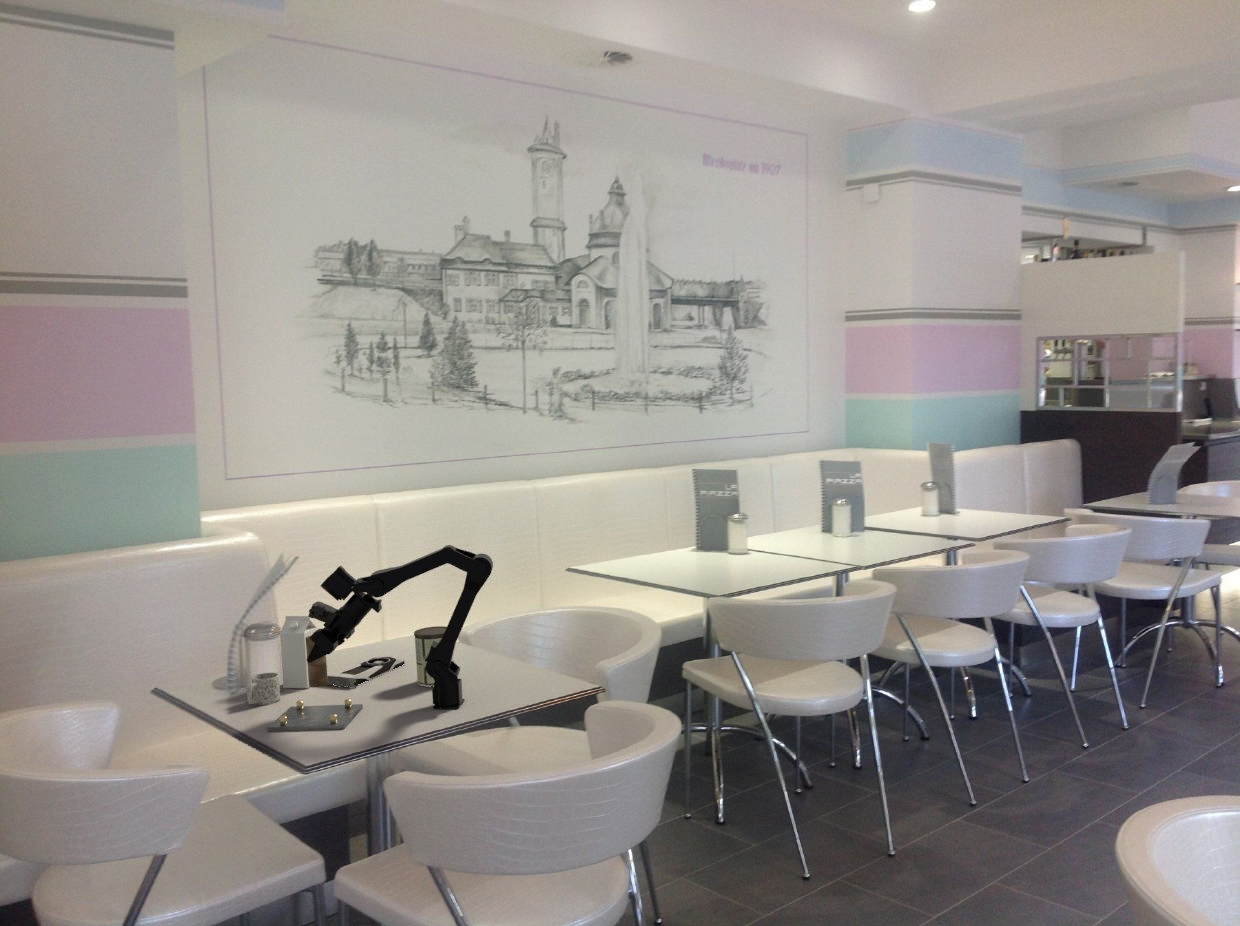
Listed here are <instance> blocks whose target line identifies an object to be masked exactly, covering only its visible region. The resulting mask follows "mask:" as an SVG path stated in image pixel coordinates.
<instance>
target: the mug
mask: <svg viewBox="0 0 1240 926" xmlns="http://www.w3.org/2000/svg"><path fill="white" fill-rule="evenodd" d="M246 699H247V703H248V704H249V705H256V706H268V705H273V704H277V703H279V702H280V701H281V689H280V676H279V673H277V672H263V673H258V674H255V675H253V676H251V684H250V685H248V687H246Z"/></svg>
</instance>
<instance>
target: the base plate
mask: <svg viewBox="0 0 1240 926" xmlns="http://www.w3.org/2000/svg"><path fill="white" fill-rule="evenodd" d="M362 709H363V703H359V704H358V703H357V704H352V698H346V699H344V704H331V705H329V704H327V705H305V706H304V700H297V701H296V705H295V706H293V705H292V706H290V707H288V709H286V710H285V711H284V712H283V713H282V714H281V715H280V716H279V717H278V718H277V719H276V720H274V721H273V722H272V723H271V724H269V726H268V727H267V730H268V733H269V732H291V731H292V732H295V731H323V730H329V731H330V730H345V729H346V728H347V727H348V725H349V724H350V723H351V722H352V721H353V720H354V719H355V718H356V716H358V714H359V713H360V712H361V711H362Z"/></svg>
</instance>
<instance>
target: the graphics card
mask: <svg viewBox="0 0 1240 926" xmlns="http://www.w3.org/2000/svg"><path fill="white" fill-rule="evenodd" d="M403 664H405V665H406V663H405V659H403V657H401V656H397V657H396V656H393V655H389V656H386V655H378V656H374V657H372V658H370V659H367V660H366V661H363V662H361V663H359V664H355V665H353V666H351V667H348V668H346V669H344V670H342V671H337V672H334V673H331V674H329V675H328V674H327V677H328V685H329V686H331V685H333V684H334V685H337V686H336V687H338V686H348V687H347V688H350V687H355V688H354V689H357V687H358V686H359V685H358V684H361V683H363V682H365V681H368V682H370V681H372V680H374V679H373V678H375V677H377V678H379V677H380V676H379V675H381V676H383V675H382V674H384V673H386V672H388V673H390V672H392V671H394V670H396V669H395V668H397V669H399V668H400V667H399V666H401V667H403V666H404V665H403ZM402 665H403V666H402ZM398 667H399V668H398ZM393 669H394V670H393ZM391 670H392V671H391ZM389 671H390V672H389ZM386 674H387V673H386ZM384 675H385V674H384ZM378 676H379V677H378ZM371 679H372V680H371ZM375 679H376V678H375ZM369 680H370V681H369ZM365 683H366V682H365ZM363 684H364V683H363ZM328 685H327V686H328ZM357 685H358V686H357ZM361 685H362V684H361Z"/></svg>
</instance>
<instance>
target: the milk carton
mask: <svg viewBox="0 0 1240 926" xmlns="http://www.w3.org/2000/svg"><path fill="white" fill-rule="evenodd" d="M284 618H285V620H284V623H283V625H282V628H281V630H280V632H281V634H280V633H279V639H280V655H281V669H282V686H283V688H284V689H309V688H310V687H309V679H308V665H307V651H306V637H308V636H311V635H312V634H313V633H314V632H315V631H316V630H318V628H317V626H316V625H315V624H314V623H313V622H312V620H311V618H310V617H309V616H308V615H285V617H284Z"/></svg>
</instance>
